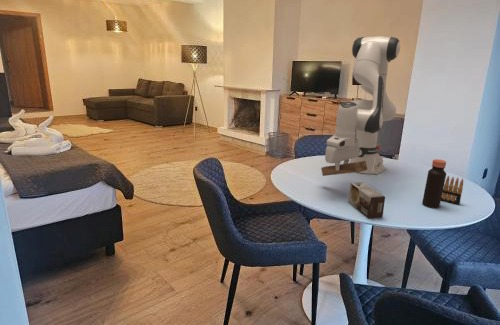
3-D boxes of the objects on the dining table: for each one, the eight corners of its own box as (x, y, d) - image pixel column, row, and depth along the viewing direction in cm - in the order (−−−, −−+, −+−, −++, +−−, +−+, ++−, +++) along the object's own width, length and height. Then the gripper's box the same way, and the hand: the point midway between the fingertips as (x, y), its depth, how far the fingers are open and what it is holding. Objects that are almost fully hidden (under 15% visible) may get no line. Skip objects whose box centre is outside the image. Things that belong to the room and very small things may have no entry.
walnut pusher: (328, 174, 163) (327, 166, 163) (367, 169, 146) (365, 160, 146) (320, 176, 160) (319, 168, 159) (359, 172, 142) (357, 162, 142)
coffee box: (361, 201, 148) (382, 218, 133) (347, 202, 147) (367, 219, 132) (364, 181, 145) (386, 196, 130) (350, 182, 144) (371, 197, 129)
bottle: (424, 200, 150) (432, 157, 145) (441, 205, 146) (450, 161, 140) (420, 205, 145) (428, 161, 140) (437, 210, 141) (447, 164, 135)
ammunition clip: (431, 199, 153) (437, 173, 149) (432, 197, 154) (437, 172, 151) (459, 205, 147) (465, 179, 143) (459, 204, 148) (465, 178, 144)
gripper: (352, 135, 158) (349, 163, 162) (324, 140, 145) (321, 171, 149) (364, 138, 153) (360, 167, 157) (335, 143, 141) (332, 175, 145)
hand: (341, 169), depth 153 cm, fingers closed on walnut pusher, 3 cm apart
